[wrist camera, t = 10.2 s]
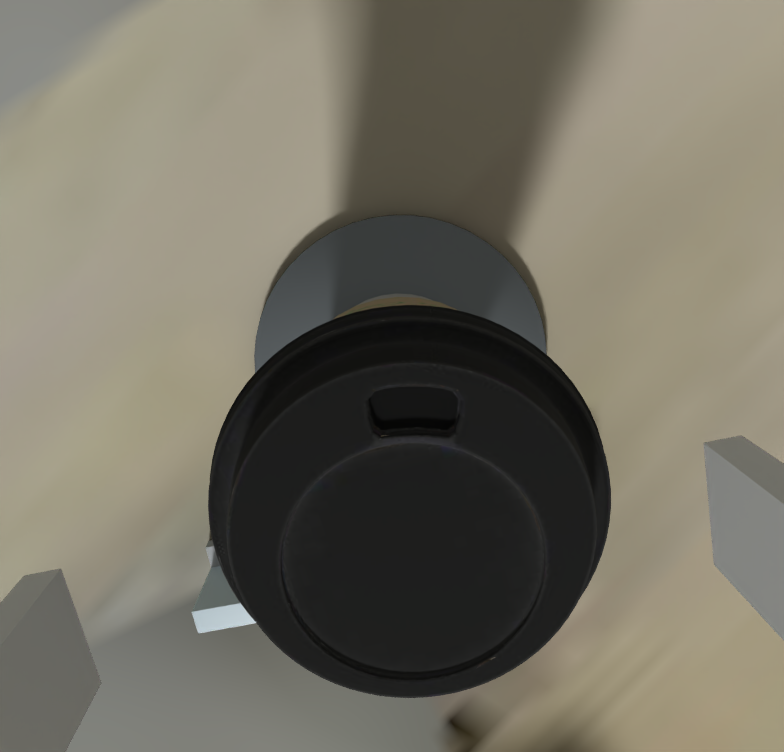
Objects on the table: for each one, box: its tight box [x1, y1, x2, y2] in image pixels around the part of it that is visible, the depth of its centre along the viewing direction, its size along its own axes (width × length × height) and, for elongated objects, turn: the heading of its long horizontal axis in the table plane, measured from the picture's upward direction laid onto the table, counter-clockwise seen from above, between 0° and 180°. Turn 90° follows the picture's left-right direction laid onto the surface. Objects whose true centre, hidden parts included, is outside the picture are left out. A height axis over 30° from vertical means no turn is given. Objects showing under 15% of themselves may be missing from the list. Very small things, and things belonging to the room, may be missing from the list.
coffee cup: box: [208, 293, 611, 698], centre depth 22 cm, size 9×9×15 cm
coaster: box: [254, 215, 546, 373], centre depth 30 cm, size 12×12×1 cm
